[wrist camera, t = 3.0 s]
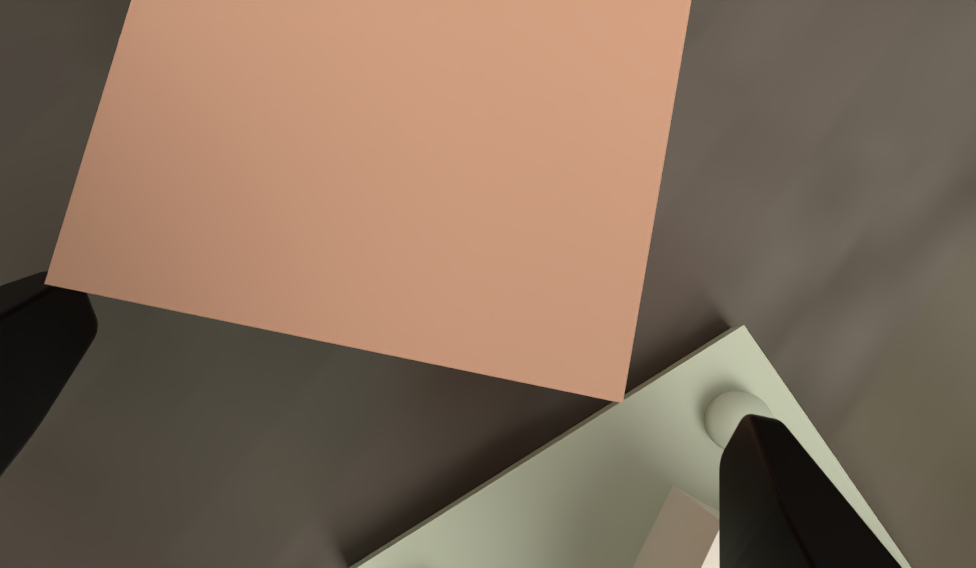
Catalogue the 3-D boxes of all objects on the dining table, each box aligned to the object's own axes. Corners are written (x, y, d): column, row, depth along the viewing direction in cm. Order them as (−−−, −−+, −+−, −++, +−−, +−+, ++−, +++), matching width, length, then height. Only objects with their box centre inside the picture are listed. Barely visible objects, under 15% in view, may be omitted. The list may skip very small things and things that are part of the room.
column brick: (547, 381, 18) (622, 403, 5) (382, 347, 18) (44, 284, 5) (578, 218, 18) (716, -147, 5) (418, 188, 19) (197, -216, 6)
